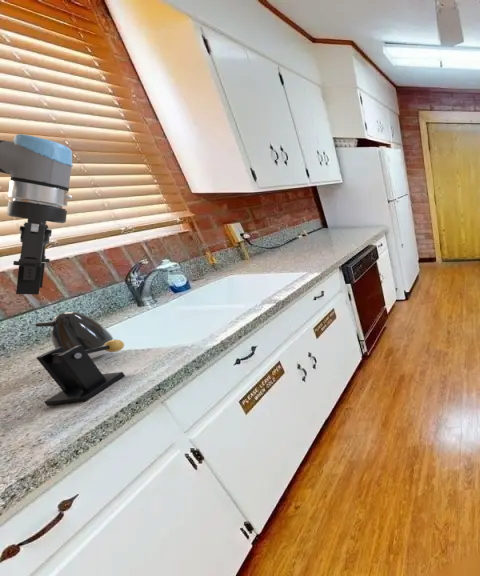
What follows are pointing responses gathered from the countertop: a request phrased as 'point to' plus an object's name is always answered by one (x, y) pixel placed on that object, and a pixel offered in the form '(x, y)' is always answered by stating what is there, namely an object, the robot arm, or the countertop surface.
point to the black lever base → (76, 376)
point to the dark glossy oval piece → (77, 332)
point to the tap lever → (96, 349)
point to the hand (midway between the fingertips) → (30, 290)
